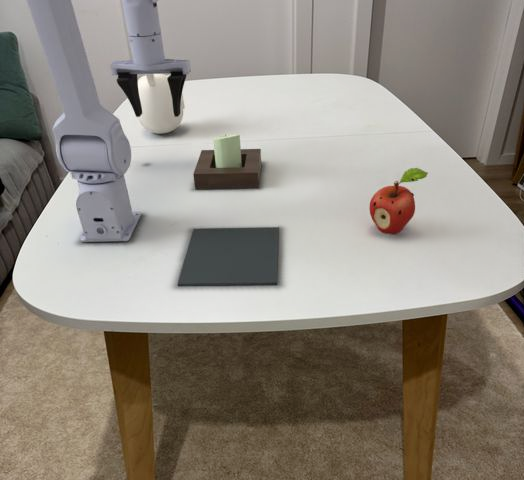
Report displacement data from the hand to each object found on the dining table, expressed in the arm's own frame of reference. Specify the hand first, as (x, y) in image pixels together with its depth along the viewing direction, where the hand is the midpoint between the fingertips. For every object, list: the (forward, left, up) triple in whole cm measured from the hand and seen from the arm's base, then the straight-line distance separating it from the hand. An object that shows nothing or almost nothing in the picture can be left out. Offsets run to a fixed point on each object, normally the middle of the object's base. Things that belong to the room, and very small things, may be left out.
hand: (158, 115), depth 98 cm
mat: (-36, -17, -10) cm, 41 cm away
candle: (-6, -14, -10) cm, 18 cm away
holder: (-6, -14, -10) cm, 18 cm away
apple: (-29, -42, -10) cm, 52 cm away
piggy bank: (+21, +4, -10) cm, 24 cm away
